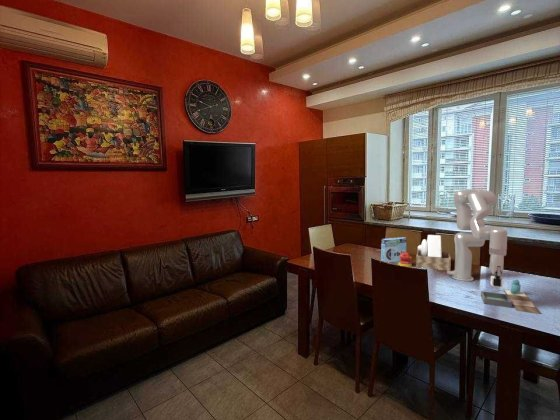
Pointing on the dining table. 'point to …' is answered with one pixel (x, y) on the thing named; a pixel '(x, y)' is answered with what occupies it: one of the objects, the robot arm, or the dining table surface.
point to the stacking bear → (405, 260)
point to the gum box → (392, 249)
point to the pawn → (515, 287)
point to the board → (522, 302)
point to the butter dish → (431, 246)
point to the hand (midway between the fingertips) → (495, 284)
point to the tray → (496, 299)
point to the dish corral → (434, 261)
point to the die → (493, 280)
